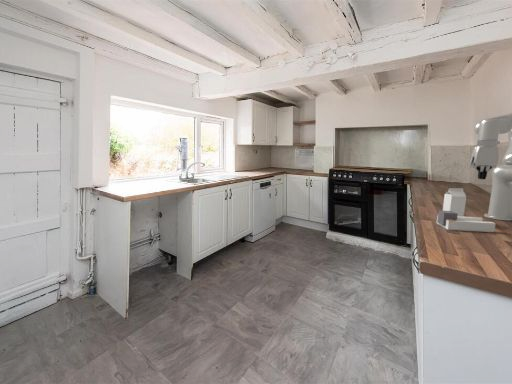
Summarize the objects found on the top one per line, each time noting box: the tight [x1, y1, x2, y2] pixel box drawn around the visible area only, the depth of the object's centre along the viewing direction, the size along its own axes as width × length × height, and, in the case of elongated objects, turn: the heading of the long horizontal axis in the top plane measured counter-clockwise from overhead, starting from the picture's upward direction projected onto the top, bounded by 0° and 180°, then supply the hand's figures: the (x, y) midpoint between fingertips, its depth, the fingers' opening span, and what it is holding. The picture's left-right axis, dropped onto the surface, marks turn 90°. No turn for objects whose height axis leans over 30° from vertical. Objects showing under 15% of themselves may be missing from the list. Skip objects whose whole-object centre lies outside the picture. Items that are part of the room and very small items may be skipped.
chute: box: [436, 214, 496, 233], centre depth 125 cm, size 20×12×5 cm, turn 77°
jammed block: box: [436, 210, 458, 226], centre depth 127 cm, size 6×6×7 cm
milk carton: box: [442, 187, 467, 217], centre depth 136 cm, size 7×7×19 cm
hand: (481, 178), depth 126 cm, fingers closed
